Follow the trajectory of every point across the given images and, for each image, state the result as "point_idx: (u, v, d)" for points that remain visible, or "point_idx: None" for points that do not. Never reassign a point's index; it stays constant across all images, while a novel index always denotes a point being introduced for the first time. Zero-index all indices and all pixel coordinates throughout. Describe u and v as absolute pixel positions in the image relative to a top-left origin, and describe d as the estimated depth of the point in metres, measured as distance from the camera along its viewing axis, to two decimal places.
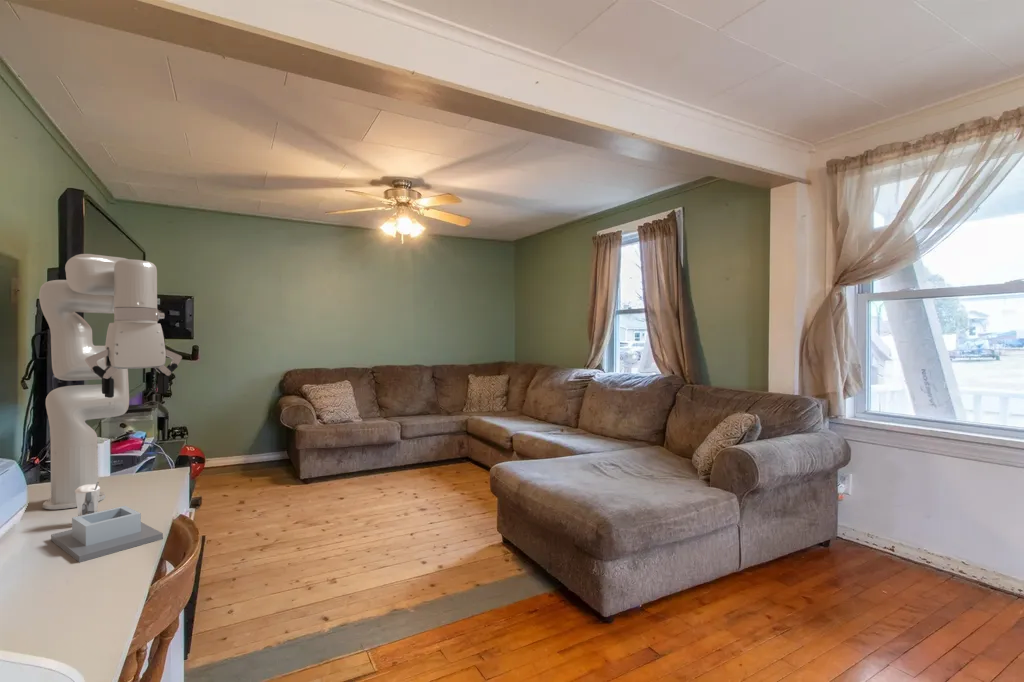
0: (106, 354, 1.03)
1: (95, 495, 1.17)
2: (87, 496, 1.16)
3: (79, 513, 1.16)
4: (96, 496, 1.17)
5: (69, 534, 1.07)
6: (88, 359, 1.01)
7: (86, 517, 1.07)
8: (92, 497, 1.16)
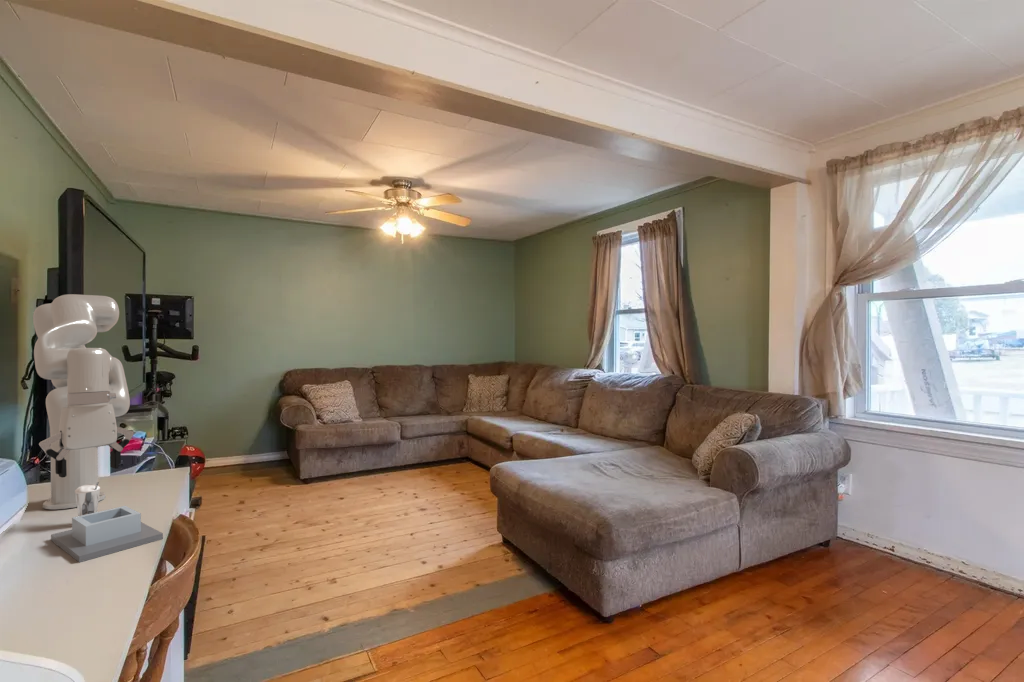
0: (59, 437, 1.12)
1: (95, 495, 1.17)
2: (87, 496, 1.16)
3: (79, 513, 1.16)
4: (96, 496, 1.17)
5: (69, 534, 1.07)
6: (42, 443, 1.10)
7: (86, 517, 1.07)
8: (92, 497, 1.16)
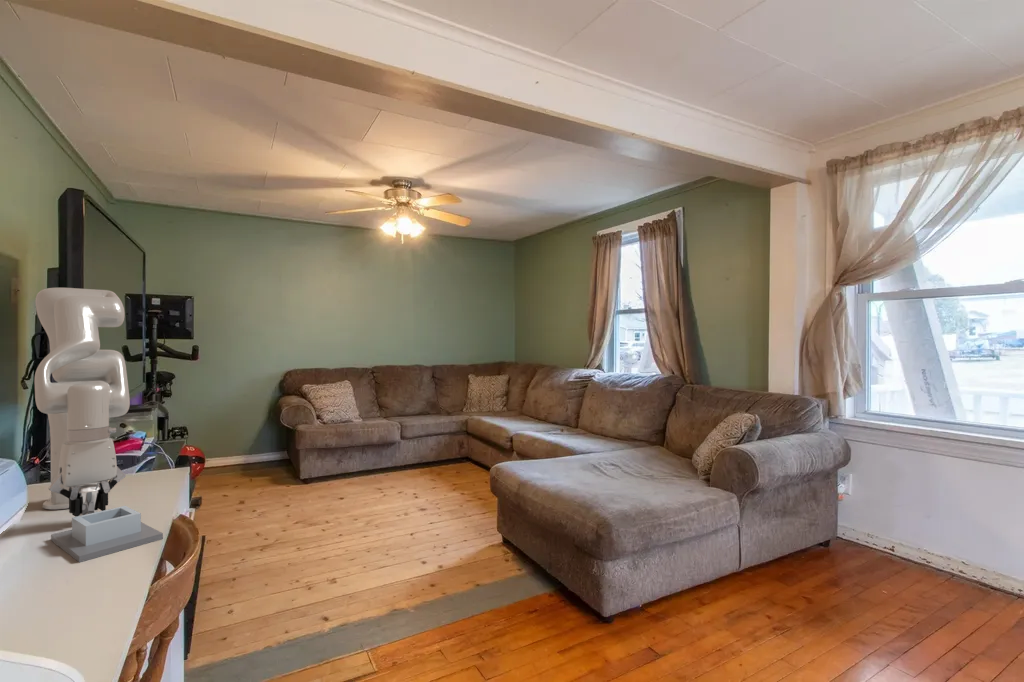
0: None
1: (95, 495, 1.17)
2: (88, 496, 1.16)
3: None
4: (96, 496, 1.17)
5: (69, 534, 1.07)
6: (51, 489, 1.11)
7: (86, 517, 1.07)
8: (92, 497, 1.16)
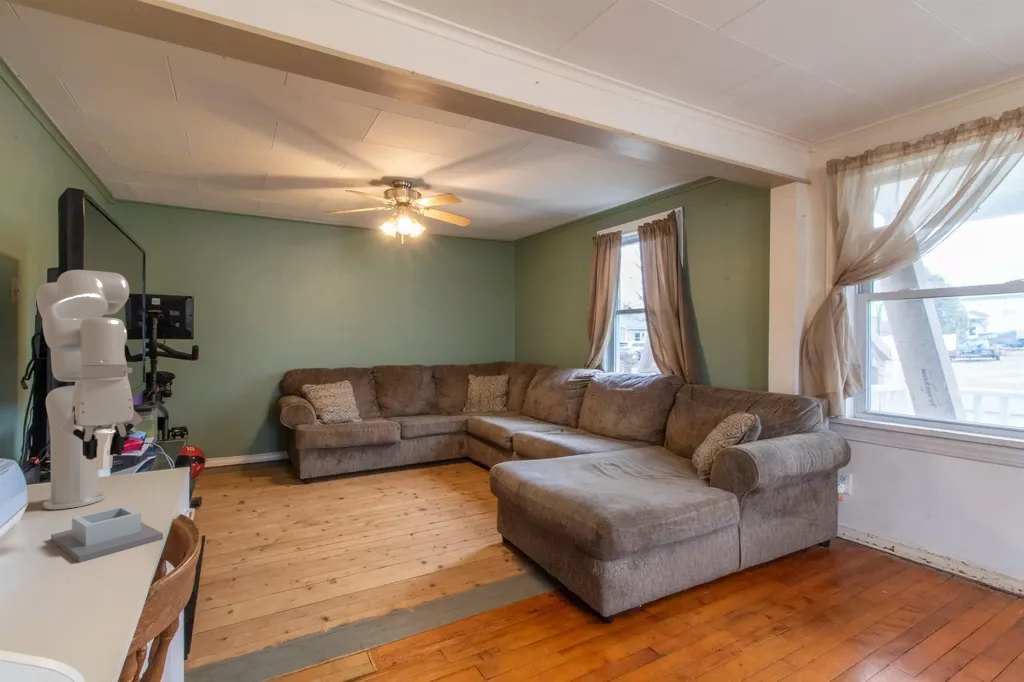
0: None
1: (111, 438, 1.08)
2: (103, 438, 1.07)
3: (94, 456, 1.07)
4: (112, 439, 1.09)
5: (69, 534, 1.07)
6: (64, 428, 1.03)
7: (86, 517, 1.07)
8: (108, 439, 1.08)
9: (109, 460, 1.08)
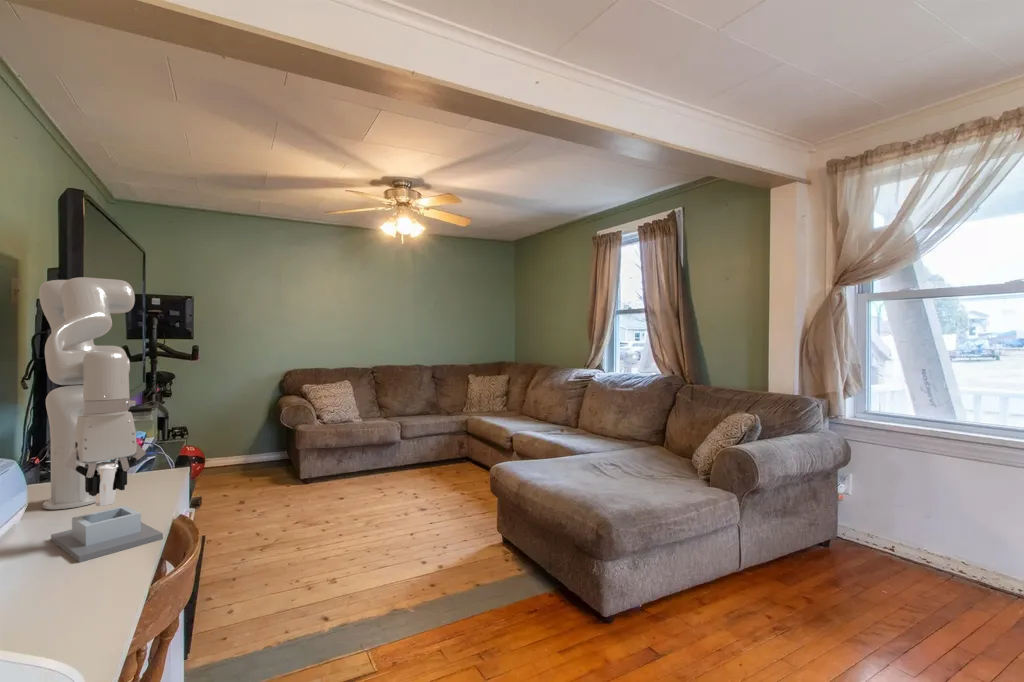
0: None
1: (114, 473, 1.07)
2: (105, 473, 1.06)
3: None
4: (115, 474, 1.07)
5: (69, 534, 1.07)
6: (66, 465, 1.01)
7: (86, 517, 1.07)
8: (111, 475, 1.06)
9: (112, 495, 1.07)
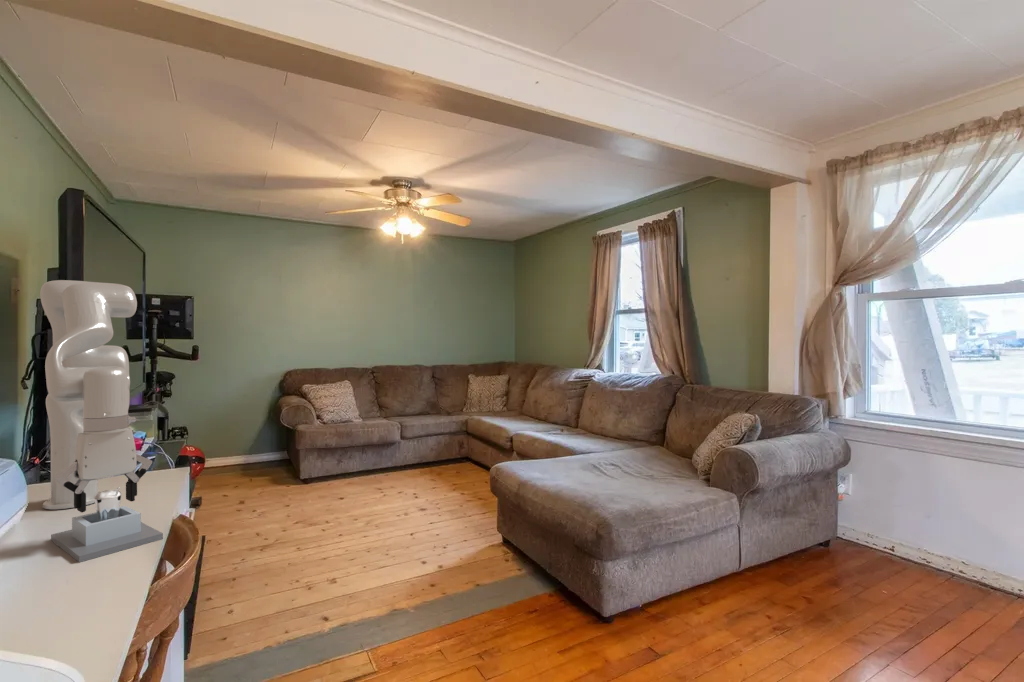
0: (76, 468, 1.03)
1: (116, 502, 1.07)
2: (107, 503, 1.06)
3: (98, 521, 1.06)
4: (117, 503, 1.08)
5: (69, 534, 1.07)
6: (58, 477, 1.00)
7: (86, 517, 1.07)
8: (112, 504, 1.07)
9: None
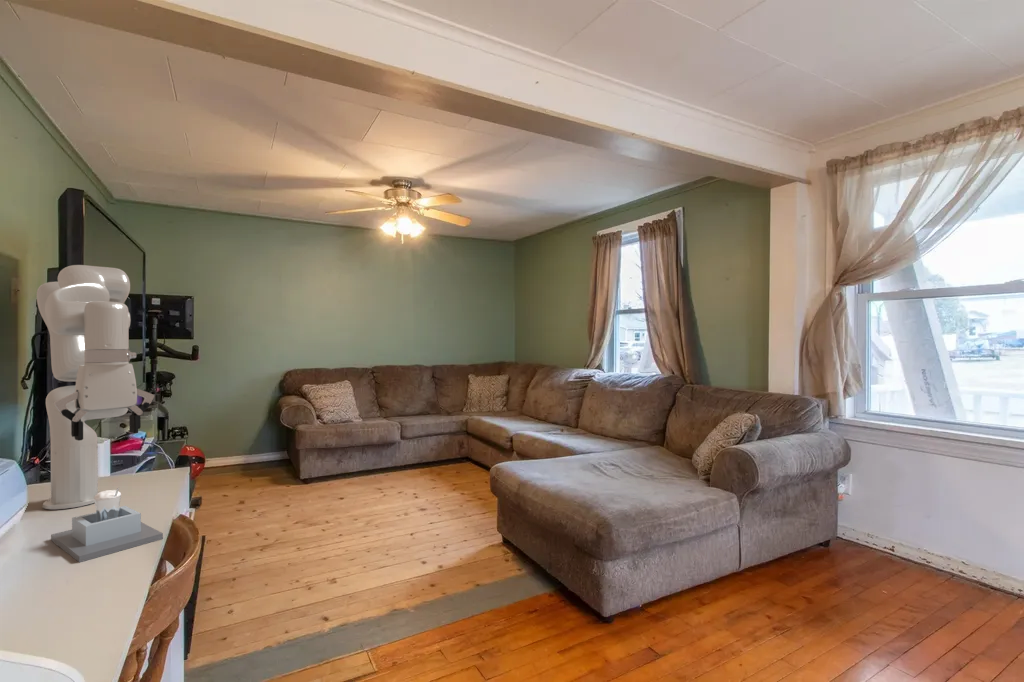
0: (75, 397, 1.03)
1: (115, 502, 1.07)
2: (107, 503, 1.06)
3: (98, 521, 1.06)
4: (116, 503, 1.08)
5: (69, 534, 1.07)
6: (57, 403, 1.01)
7: (86, 517, 1.07)
8: (112, 504, 1.07)
9: None
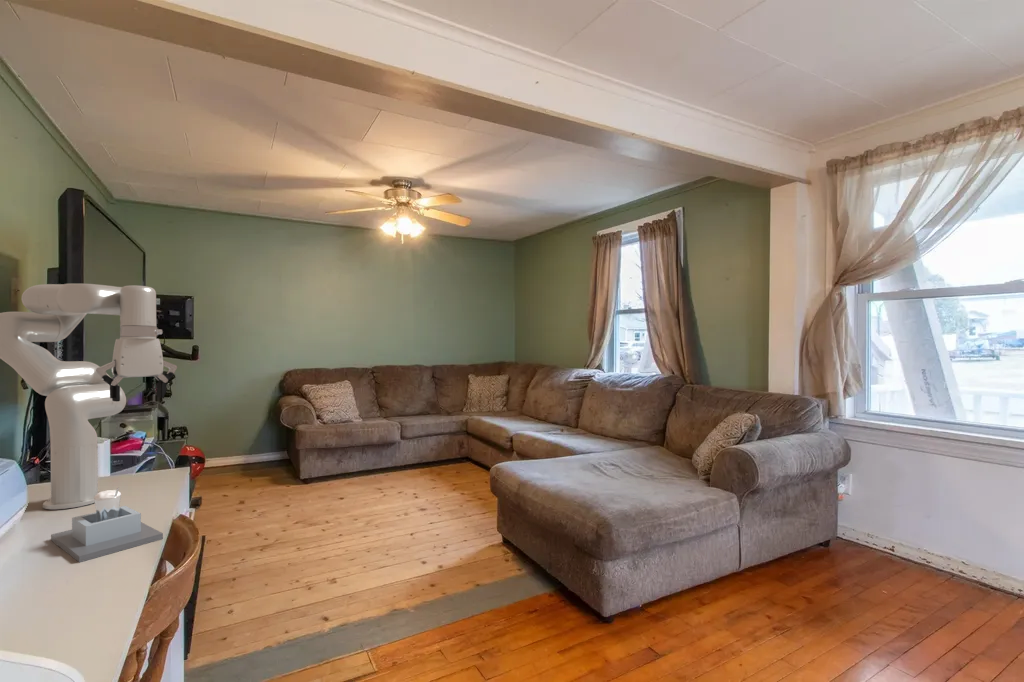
0: (113, 365, 1.23)
1: (115, 502, 1.07)
2: (106, 503, 1.06)
3: (98, 521, 1.06)
4: (116, 503, 1.08)
5: (69, 534, 1.07)
6: (99, 369, 1.21)
7: (86, 517, 1.07)
8: (112, 504, 1.07)
9: None
